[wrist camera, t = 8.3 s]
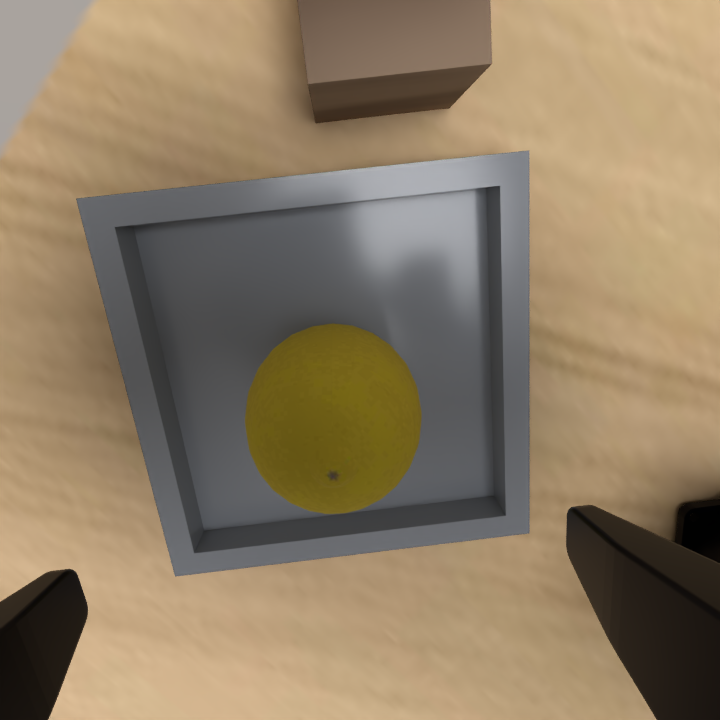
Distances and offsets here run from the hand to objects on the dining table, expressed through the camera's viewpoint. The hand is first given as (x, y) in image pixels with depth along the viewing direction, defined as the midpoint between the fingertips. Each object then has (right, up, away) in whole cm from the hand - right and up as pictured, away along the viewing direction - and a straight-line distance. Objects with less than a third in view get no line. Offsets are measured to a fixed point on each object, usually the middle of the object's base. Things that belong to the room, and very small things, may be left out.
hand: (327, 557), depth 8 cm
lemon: (0, +3, +11) cm, 11 cm away
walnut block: (+1, +15, +8) cm, 17 cm away
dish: (-1, +3, +11) cm, 12 cm away
